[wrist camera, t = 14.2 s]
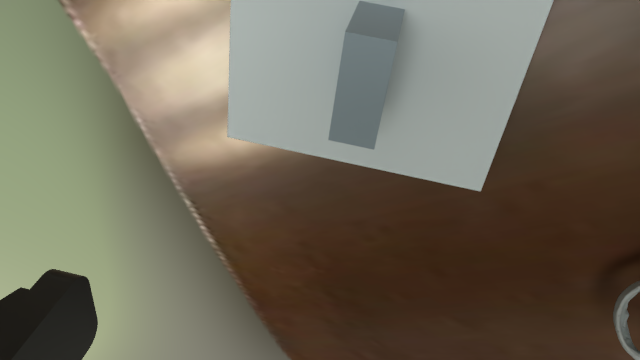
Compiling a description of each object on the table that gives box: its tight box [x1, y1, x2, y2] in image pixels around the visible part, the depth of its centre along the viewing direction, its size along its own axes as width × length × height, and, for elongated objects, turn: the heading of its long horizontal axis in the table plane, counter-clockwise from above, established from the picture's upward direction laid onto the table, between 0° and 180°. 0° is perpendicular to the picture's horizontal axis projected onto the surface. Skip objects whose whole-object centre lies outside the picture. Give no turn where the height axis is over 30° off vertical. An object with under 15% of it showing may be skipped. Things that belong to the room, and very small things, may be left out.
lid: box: [227, 0, 554, 191], centre depth 30 cm, size 17×15×7 cm
